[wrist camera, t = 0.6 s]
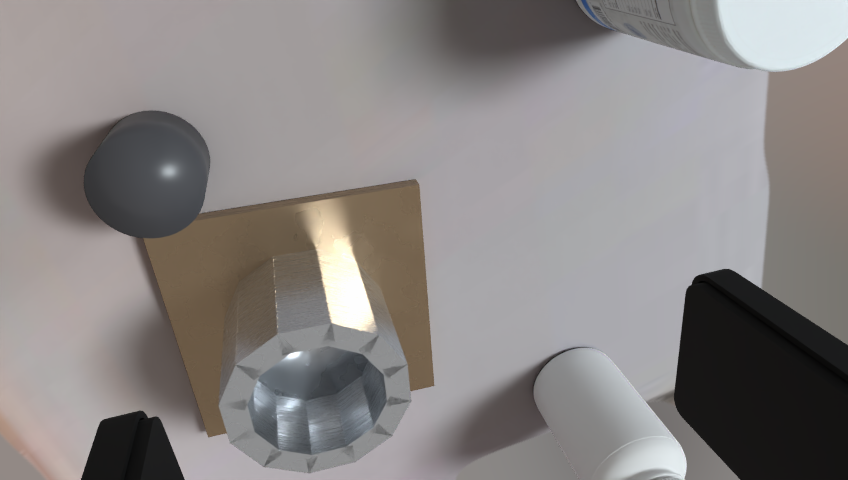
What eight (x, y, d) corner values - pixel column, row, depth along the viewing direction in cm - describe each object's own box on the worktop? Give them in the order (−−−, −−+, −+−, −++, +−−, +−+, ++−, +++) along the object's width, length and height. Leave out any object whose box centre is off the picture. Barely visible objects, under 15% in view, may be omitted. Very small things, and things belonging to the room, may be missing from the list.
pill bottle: (512, 396, 53) (595, 544, 41) (571, 331, 52) (678, 464, 39) (569, 424, 57) (662, 569, 44) (626, 364, 55) (740, 496, 42)
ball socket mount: (142, 222, 38) (110, 308, 29) (415, 179, 41) (458, 244, 33) (209, 427, 47) (199, 540, 38) (431, 377, 50) (468, 470, 41)
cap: (89, 117, 35) (66, 144, 30) (197, 104, 36) (189, 127, 31) (121, 210, 37) (104, 247, 33) (219, 195, 39) (216, 228, 34)
